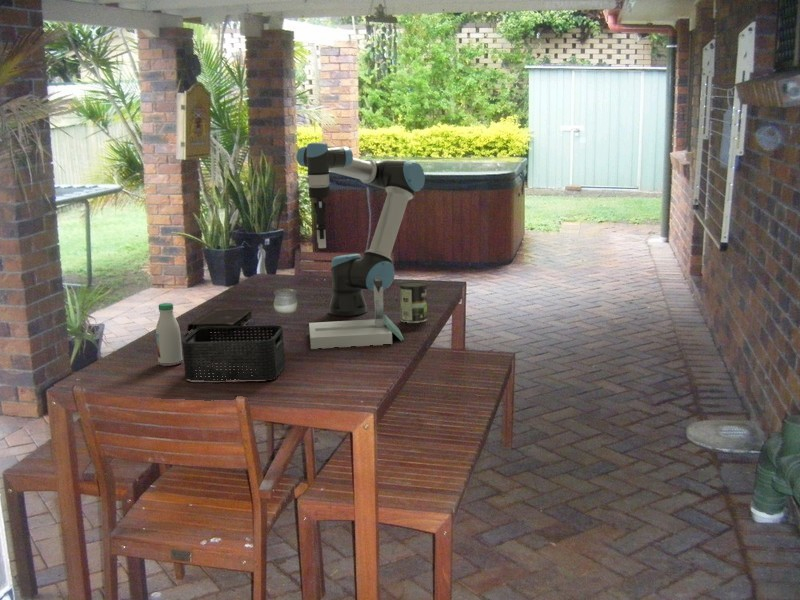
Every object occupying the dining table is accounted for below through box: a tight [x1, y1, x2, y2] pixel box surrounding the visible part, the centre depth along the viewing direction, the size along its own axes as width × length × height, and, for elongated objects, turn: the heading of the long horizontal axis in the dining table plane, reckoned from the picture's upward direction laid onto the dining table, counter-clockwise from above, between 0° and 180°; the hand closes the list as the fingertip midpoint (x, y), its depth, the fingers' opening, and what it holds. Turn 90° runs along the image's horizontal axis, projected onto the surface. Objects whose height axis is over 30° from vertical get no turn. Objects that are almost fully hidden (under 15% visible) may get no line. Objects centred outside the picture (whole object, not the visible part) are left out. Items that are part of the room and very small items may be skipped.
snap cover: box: [384, 313, 405, 342], centre depth 325 cm, size 14×8×1 cm
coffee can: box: [399, 281, 428, 324], centre depth 348 cm, size 10×10×14 cm
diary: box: [186, 307, 255, 332], centre depth 348 cm, size 19×25×5 cm
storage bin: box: [181, 324, 286, 381], centre depth 285 cm, size 29×19×13 cm
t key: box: [373, 277, 385, 328], centre depth 323 cm, size 7×3×20 cm, turn 7°
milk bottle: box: [155, 302, 183, 363], centre depth 297 cm, size 8×8×20 cm
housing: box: [308, 319, 393, 350], centre depth 324 cm, size 22×28×4 cm
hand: (321, 245), depth 331 cm, fingers open, 13 cm apart
